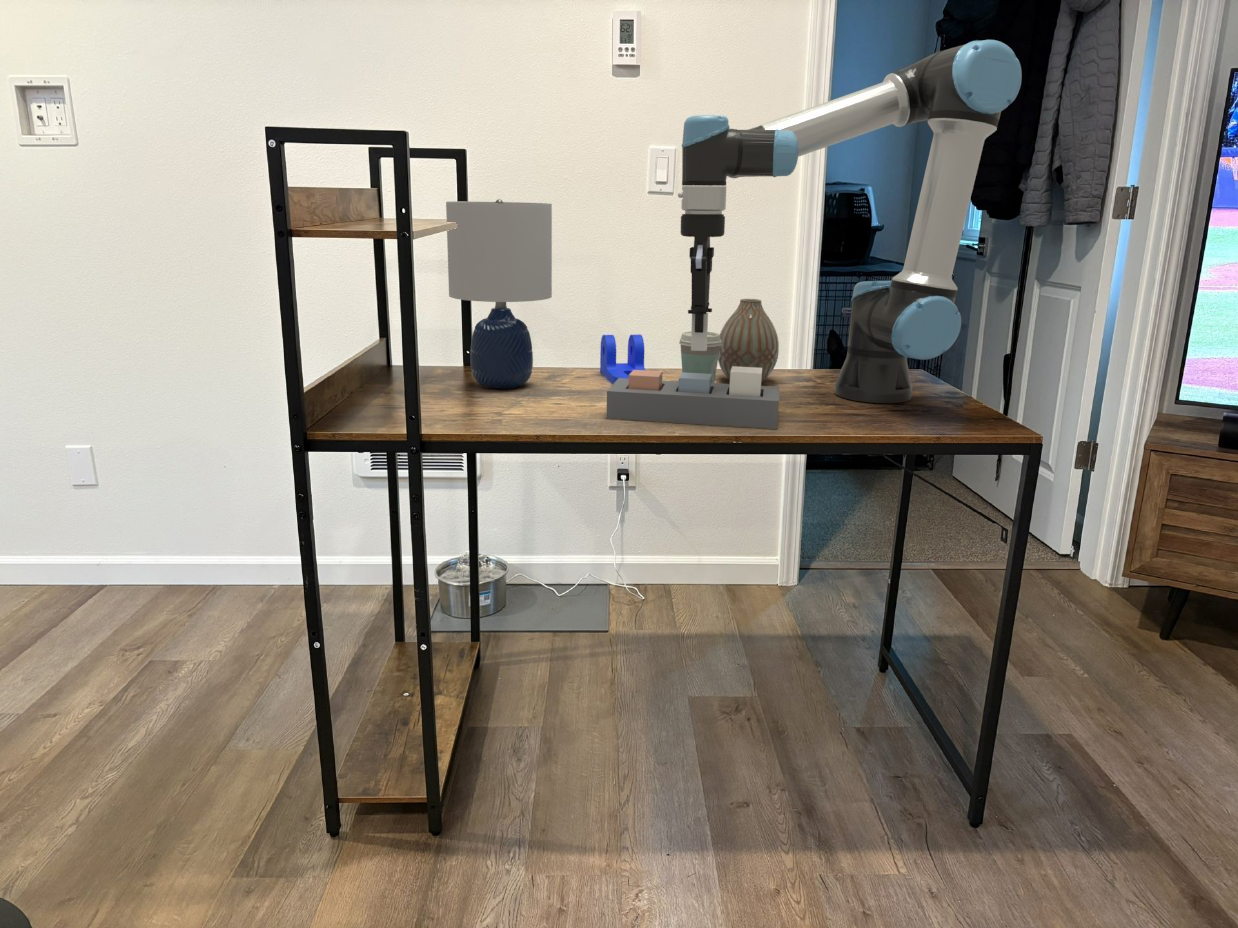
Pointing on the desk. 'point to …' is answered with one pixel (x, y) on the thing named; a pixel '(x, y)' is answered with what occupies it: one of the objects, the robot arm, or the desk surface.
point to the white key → (745, 381)
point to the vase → (749, 339)
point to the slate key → (695, 383)
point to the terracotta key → (645, 380)
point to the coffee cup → (700, 355)
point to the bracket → (609, 357)
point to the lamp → (500, 280)
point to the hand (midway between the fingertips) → (698, 349)
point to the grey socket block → (693, 405)
